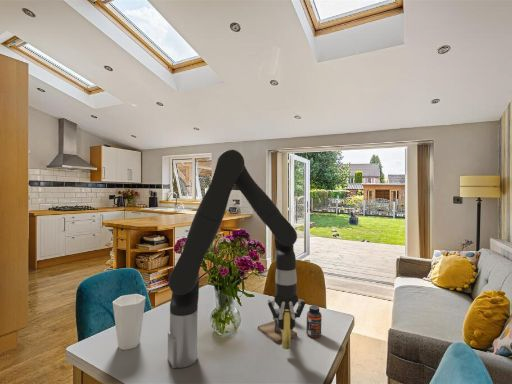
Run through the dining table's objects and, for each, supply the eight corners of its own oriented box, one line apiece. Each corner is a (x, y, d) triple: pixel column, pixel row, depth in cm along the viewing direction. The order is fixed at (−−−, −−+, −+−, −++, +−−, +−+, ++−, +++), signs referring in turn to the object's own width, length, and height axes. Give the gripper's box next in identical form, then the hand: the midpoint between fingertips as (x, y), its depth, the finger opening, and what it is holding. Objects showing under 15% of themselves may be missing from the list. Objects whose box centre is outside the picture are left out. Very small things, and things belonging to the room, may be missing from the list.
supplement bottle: (310, 339, 108) (311, 311, 108) (303, 332, 114) (304, 305, 114) (324, 337, 110) (324, 309, 110) (316, 330, 115) (317, 303, 115)
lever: (270, 321, 116) (271, 291, 116) (282, 321, 116) (282, 291, 116) (280, 349, 96) (280, 312, 96) (293, 349, 96) (294, 312, 96)
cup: (150, 343, 104) (150, 298, 104) (124, 356, 96) (124, 308, 96) (133, 334, 110) (133, 292, 110) (107, 345, 102) (108, 300, 102)
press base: (257, 329, 116) (257, 312, 116) (276, 322, 121) (277, 306, 121) (276, 343, 105) (277, 325, 105) (297, 335, 111) (297, 318, 111)
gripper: (267, 284, 93) (267, 334, 94) (307, 283, 94) (308, 333, 94) (265, 277, 101) (266, 323, 101) (303, 276, 101) (303, 322, 102)
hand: (286, 328), depth 98 cm, fingers closed on lever, 3 cm apart
